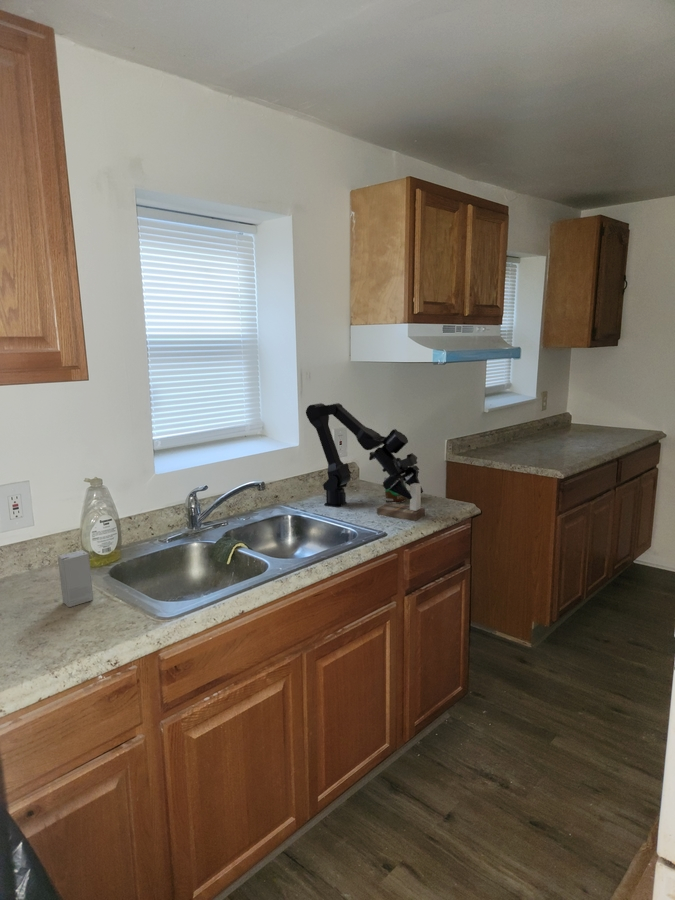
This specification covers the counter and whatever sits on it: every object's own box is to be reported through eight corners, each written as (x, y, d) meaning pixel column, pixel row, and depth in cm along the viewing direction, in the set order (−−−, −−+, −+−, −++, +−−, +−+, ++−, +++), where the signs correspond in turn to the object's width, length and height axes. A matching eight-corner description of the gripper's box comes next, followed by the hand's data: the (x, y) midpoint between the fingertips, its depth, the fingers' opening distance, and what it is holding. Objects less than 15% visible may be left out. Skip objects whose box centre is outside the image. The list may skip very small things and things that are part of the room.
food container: (397, 505, 223) (397, 479, 221) (383, 503, 227) (383, 477, 225) (414, 498, 233) (414, 473, 231) (400, 496, 237) (400, 471, 235)
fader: (409, 509, 207) (410, 484, 206) (414, 507, 210) (414, 482, 208) (416, 510, 206) (416, 485, 204) (420, 508, 209) (420, 483, 207)
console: (376, 514, 212) (376, 507, 212) (387, 509, 219) (387, 502, 218) (415, 520, 204) (415, 513, 204) (424, 515, 211) (425, 508, 210)
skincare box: (87, 595, 147) (83, 548, 145) (94, 600, 144) (90, 553, 141) (61, 602, 143) (56, 554, 141) (68, 608, 140) (63, 559, 137)
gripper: (390, 451, 199) (421, 487, 195) (414, 443, 214) (442, 476, 211) (370, 472, 204) (399, 507, 201) (394, 462, 220) (421, 494, 216)
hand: (416, 495), depth 207 cm, fingers open, 9 cm apart
